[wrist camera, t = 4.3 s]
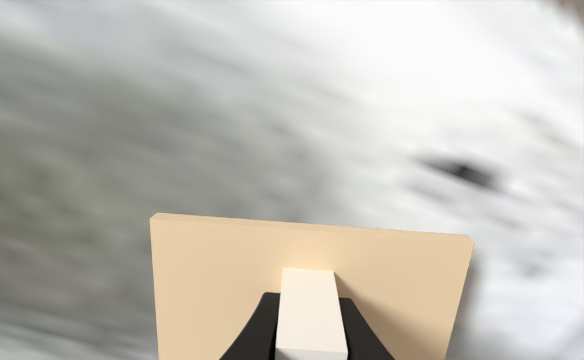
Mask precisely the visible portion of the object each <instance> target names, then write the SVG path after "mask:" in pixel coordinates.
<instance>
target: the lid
mask: <svg viewBox="0 0 584 360" xmlns="http://www.w3.org/2000/svg"><path fill="white" fill-rule="evenodd" d="M150 230H151V245H152V260H153V275H154V290H155V305H156V320H157V335H158V350H159V360H219V359H220V358H221V357H222V355H223V354H224V353H225V352H226V351H227V349H228V348H229V347H230V346H231V344H232V343H233V342H234V340H235V339H236V338H237V336H238V335H239V334H240V333H241V331H242V330H243V328H244V327H245V325H246V324H247V322H248V321H249V319H250V318H251V316H252V314H253V313H254V311H255V309H256V307H257V306H258V304H259V302H260V299H261V297H262V295H263V294H264V293H265V292H274V293H281V295H280V306H279V316H278V327H277V338H276V348H275V360H347V356H348V350H347V345H346V339H345V333H344V328H343V322H342V317H341V311H340V305H339V300H338V297H341V298H351V299H352V300H353V302H354V303H355V305H356V307H357V308H358V310H359V311H360V313H361V314H362V316H363V317H364V319H365V320H366V322H367V323H368V325H369V326H370V328H371V329H372V330H373V332H374V333H375V334H376V336H377V337H378V339H379V340H380V341H381V343H382V344H383V345H384V346H385V348H386V349H387V350H388V351H389V353H390V354H391V355H392V356H393V357H394V359H395V360H445V356H446V352H447V349H448V345H449V341H450V337H451V333H452V329H453V325H454V321H455V317H456V314H457V310H458V306H459V302H460V298H461V294H462V290H463V286H464V282H465V279H466V275H467V271H468V267H469V263H470V259H471V255H472V251H473V247H474V244H475V242H474V241H473V240H472V239H471V238H470V237H468V236H467V235H459V234H445V233H431V232H417V231H403V230H389V229H375V228H361V227H347V226H333V225H319V224H305V223H291V222H278V221H264V220H250V219H236V218H222V217H208V216H194V215H180V214H166V213H156V214H155V215H154V216H152V217H151V218H150Z"/></svg>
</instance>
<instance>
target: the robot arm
mask: <svg viewBox="0 0 584 360" xmlns="http://www.w3.org/2000/svg"><path fill="white" fill-rule="evenodd" d="M280 295H281V293H274V292H265V293H264V294H263V295H262V297H261V299H260V302H259V304H258V306H257V307H256V309H255V311H254V313H253V314H252V316H251V318H250V319H249V321H248V322H247V324H246V325H245V327H244V328H243V330H242V331H241V333H240V334H239V335H238V336H237V338H236V339H235V340H234V342H233V343H232V344H231V346H230V347H229V348H228V349H227V351H226V352H225V353H224V354H223V355H222V357H221V358H220V359H219V360H275V348H276V338H277V327H278V316H279V306H280ZM338 300H339V305H340V311H341V317H342V322H343V328H344V333H345V339H346V345H347V350H348V356H347V360H395V359H394V357H393V356H392V355H391V354H390V353H389V351H388V350H387V349H386V348H385V346H384V345H383V344H382V343H381V341H380V340H379V339H378V337H377V336H376V334H375V333H374V332H373V330H372V329H371V328H370V326H369V325H368V323H367V322H366V320H365V319H364V317H363V316H362V314H361V313H360V311H359V310H358V308H357V307H356V305H355V303H354V302H353V300H352V299H351V298H341V297H338Z"/></svg>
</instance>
